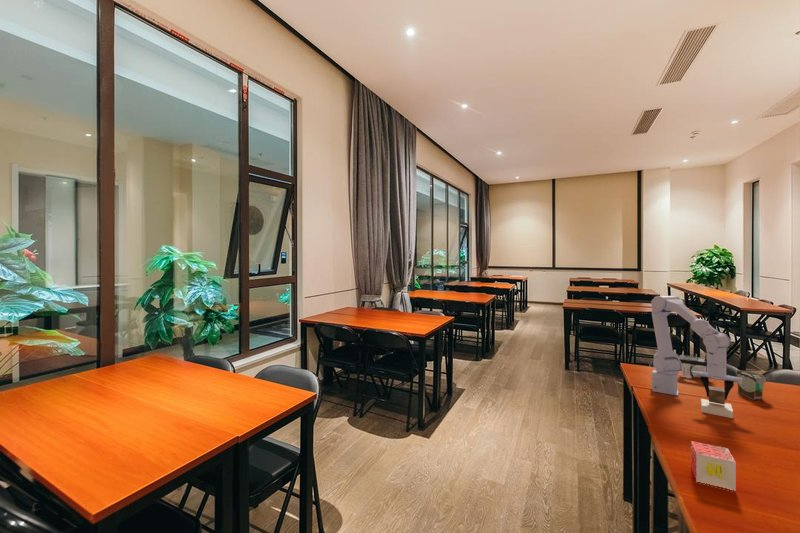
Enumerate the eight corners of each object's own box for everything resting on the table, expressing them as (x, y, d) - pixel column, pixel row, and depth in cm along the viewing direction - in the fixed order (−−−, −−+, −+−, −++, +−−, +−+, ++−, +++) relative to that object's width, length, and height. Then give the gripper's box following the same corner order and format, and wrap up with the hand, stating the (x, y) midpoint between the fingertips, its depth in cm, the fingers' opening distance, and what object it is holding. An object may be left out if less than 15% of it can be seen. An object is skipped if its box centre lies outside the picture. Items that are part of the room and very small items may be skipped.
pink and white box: (696, 482, 95) (696, 453, 95) (691, 467, 102) (691, 440, 101) (736, 492, 91) (736, 462, 91) (727, 476, 97) (728, 448, 97)
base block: (701, 413, 139) (701, 405, 139) (701, 405, 146) (701, 398, 146) (733, 419, 133) (733, 411, 133) (730, 411, 140) (730, 404, 140)
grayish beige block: (709, 401, 139) (709, 389, 139) (708, 398, 143) (708, 386, 143) (724, 404, 136) (724, 391, 136) (723, 401, 140) (723, 388, 140)
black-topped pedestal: (654, 378, 180) (655, 352, 180) (665, 367, 198) (665, 344, 198) (729, 392, 160) (729, 363, 159) (734, 379, 177) (734, 353, 177)
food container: (774, 402, 147) (774, 379, 147) (757, 401, 148) (757, 378, 148) (751, 392, 159) (751, 370, 159) (735, 391, 160) (735, 369, 160)
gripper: (693, 362, 141) (692, 396, 141) (743, 369, 131) (743, 405, 132) (692, 358, 146) (692, 391, 146) (740, 365, 137) (740, 399, 137)
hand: (716, 397), depth 139 cm, fingers closed on grayish beige block, 4 cm apart
